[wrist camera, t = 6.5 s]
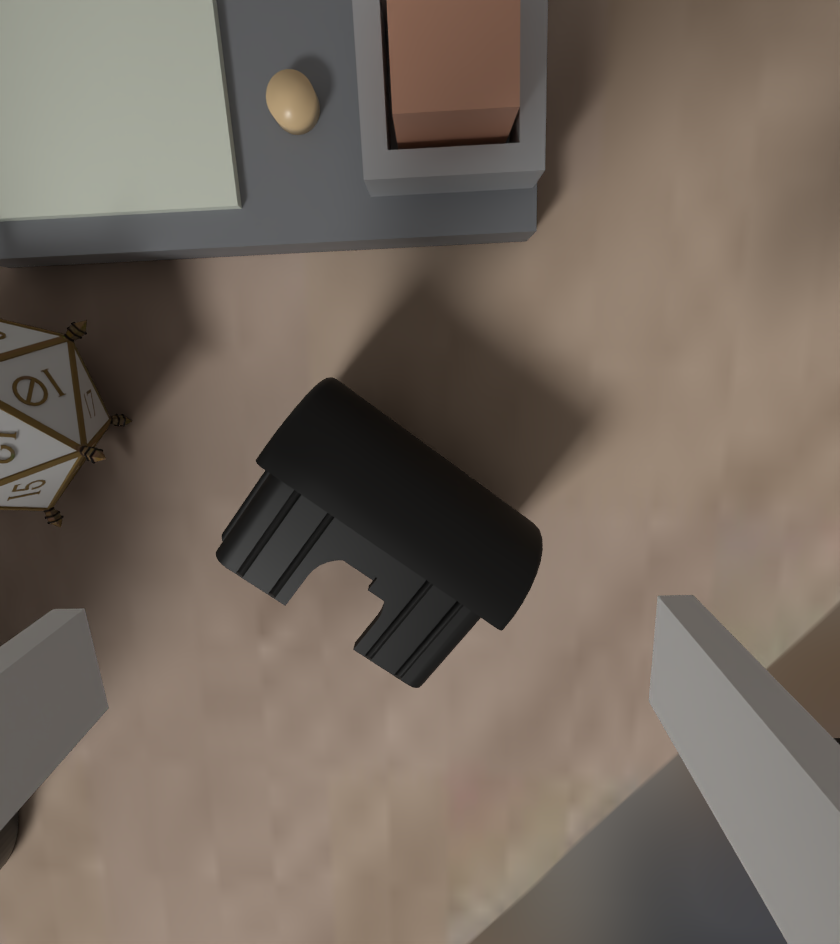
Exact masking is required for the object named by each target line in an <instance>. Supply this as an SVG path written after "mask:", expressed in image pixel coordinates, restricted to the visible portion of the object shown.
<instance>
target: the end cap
mask: <svg viewBox="0 0 840 944" xmlns="http://www.w3.org/2000/svg"><path fill="white" fill-rule="evenodd" d="M256 462H257V464H258V465H259V466H260V467H262V468H263V469H265V472H264V473H263V475H262V476H261V478H260V479H259V481H258V482H257V484H256V485H255V487H254V488H253V489H252V491H251V492H250V494H249V495H248V497H247V498H246V500H245V501H244V503H243V504H242V506H241V507H240V509H239V510H238V511H237V513H236V514H235V516H234V517H233V519H232V520H231V522H230V523H229V525H228V526H227V528H226V529H225V531H224V532H223V533H222V541H223V542H222V544H221V545H220V547H219V548H218V550H217V551H216V557H217V559H218V561H219V562H220V563H221V564H222V565H223V566H225V567H226V568H227V569H229V570H231V571H232V572H234V573H235V574H237V575H238V576H240V577H241V578H243V579H245V580H246V581H248V582H249V583H251V584H252V585H254V586H255V587H257V588H259V589H260V590H262V591H263V592H265V593H266V594H268V595H269V596H271V597H272V598H274V599H276V600H277V601H279V602H280V603H282V604H283V605H286V604H287V603H288V601H289V600H290V599H291V597H292V596H293V595H294V593H295V592H296V591H297V589H298V588H299V587H300V585H301V584H302V583H303V581H304V580H305V579H306V577H307V576H308V575H309V574H310V573H311V572H312V571H313V570H314V569H315V568H317V567H318V566H319V565H322V564H324V563H326V562H330V561H334V560H343V561H345V562H346V563H348V564H349V565H351V566H352V567H354V568H355V569H357V570H358V571H360V572H361V573H363V574H364V575H366V576H367V577H369V578H370V579H372V580H373V581H372V582H371V584H370V585H369V588H368V591H370V592H371V593H373V594H374V595H376V596H377V597H379V598H380V599H382V600H383V601H384V604H383V607H382V609H381V610H380V612H379V613H378V615H377V616H376V617H375V619H374V620H373V621H372V622H371V624H370V625H369V626H368V627H367V628H366V630H365V631H364V632H363V633H362V635H361V636H360V637H359V638H358V640H357V641H356V642H355V645H354V649H353V650H355V651H356V652H358V653H359V654H361V655H363V656H364V657H366V658H367V659H369V660H370V661H372V662H373V663H375V664H377V665H378V666H380V667H381V668H383V669H384V670H386V671H387V672H389V673H391V674H392V675H394V676H395V677H397V678H398V679H400V680H401V681H403V682H404V683H406V684H408V685H409V686H411V687H415V688H419V687H420V686H422V684H423V683H424V682H425V681H426V680H427V679H428V678H429V676H430V675H431V674H432V673H433V672H434V671H435V670H436V668H437V667H438V666H439V665H440V664H441V663H442V662H443V660H444V659H445V658H446V657H447V656H448V655H449V654H450V652H451V651H452V650H453V649H454V648H455V647H456V646H457V644H458V643H459V642H460V641H461V640H462V639H463V637H464V636H465V635H466V634H467V633H468V632H469V631H470V629H471V628H472V627H473V626H474V625H475V624H476V623H477V621H478V620H479V619H480V618H482V619H484V620H485V621H487V622H488V623H490V624H491V625H493V626H494V627H496V628H497V629H499V630H503V629H504V628H505V627H506V625H507V624H508V623H509V622H510V620H511V619H512V618H513V617H514V615H515V614H516V612H517V611H518V609H519V608H520V606H521V605H522V603H523V601H524V599H525V598H526V596H527V594H528V592H529V590H530V588H531V586H532V584H533V582H534V579H535V577H536V575H537V571H538V568H539V565H540V562H541V556H542V550H543V548H542V536H541V533H540V530H539V529H538V528H537V526H536V525H535V524H534V523H533V522H531V521H530V520H528V519H527V518H526V517H524V516H523V515H522V514H520V513H519V512H518V511H516V510H515V509H513V508H512V507H511V506H509V505H508V504H507V503H505V502H504V501H502V500H501V499H500V498H498V497H497V496H496V495H494V494H493V493H491V492H490V491H489V490H487V489H486V488H485V487H483V486H482V485H481V484H479V483H478V482H476V481H475V480H474V479H472V478H471V477H470V476H468V475H467V474H465V473H464V472H463V471H461V470H460V469H459V468H457V467H456V466H454V465H453V464H452V463H450V462H449V461H448V460H446V459H445V458H444V457H442V456H441V455H439V454H438V453H437V452H435V451H434V450H433V449H431V448H430V447H428V446H427V445H426V444H424V443H423V442H422V441H420V440H419V439H417V438H416V437H415V436H413V435H412V434H411V433H409V432H408V431H407V430H405V429H404V428H402V427H401V426H400V425H398V424H397V423H396V422H394V421H393V420H391V419H390V418H389V417H387V416H386V415H385V414H383V413H382V412H381V411H379V410H378V409H376V408H375V407H374V406H372V405H371V404H370V403H368V402H367V401H365V400H364V399H363V398H361V397H360V396H359V395H357V394H356V393H354V392H353V391H352V390H350V389H349V388H348V387H346V386H345V385H344V384H342V383H341V382H339V381H338V380H337V379H335V378H326V379H324V380H322V381H321V382H319V383H318V384H317V385H316V386H315V387H314V388H313V389H312V390H311V391H310V392H309V393H308V394H307V395H306V396H305V397H304V398H303V400H302V401H301V402H300V403H299V404H298V405H297V406H296V408H295V409H294V410H293V411H292V412H291V414H290V415H289V416H288V417H287V418H286V420H285V421H284V422H283V424H282V425H281V426H280V427H279V429H278V430H277V431H276V433H275V434H274V435H273V437H272V438H271V440H270V441H269V442H268V444H267V445H266V446H265V448H264V449H263V451H262V452H261V454H260V455H259V456H258V458H257V459H256Z"/></svg>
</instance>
